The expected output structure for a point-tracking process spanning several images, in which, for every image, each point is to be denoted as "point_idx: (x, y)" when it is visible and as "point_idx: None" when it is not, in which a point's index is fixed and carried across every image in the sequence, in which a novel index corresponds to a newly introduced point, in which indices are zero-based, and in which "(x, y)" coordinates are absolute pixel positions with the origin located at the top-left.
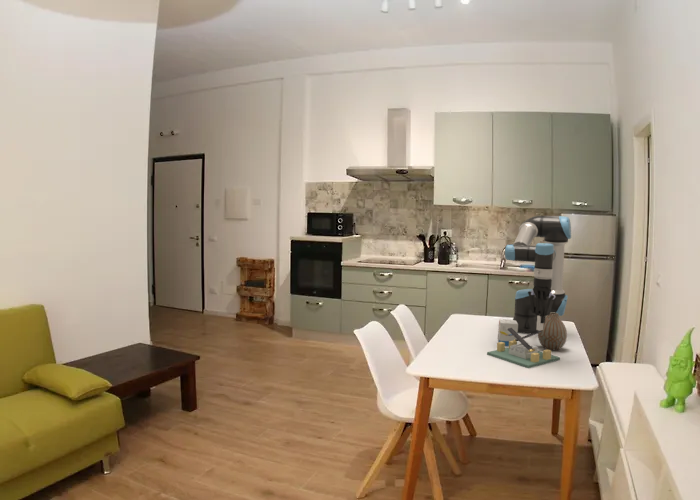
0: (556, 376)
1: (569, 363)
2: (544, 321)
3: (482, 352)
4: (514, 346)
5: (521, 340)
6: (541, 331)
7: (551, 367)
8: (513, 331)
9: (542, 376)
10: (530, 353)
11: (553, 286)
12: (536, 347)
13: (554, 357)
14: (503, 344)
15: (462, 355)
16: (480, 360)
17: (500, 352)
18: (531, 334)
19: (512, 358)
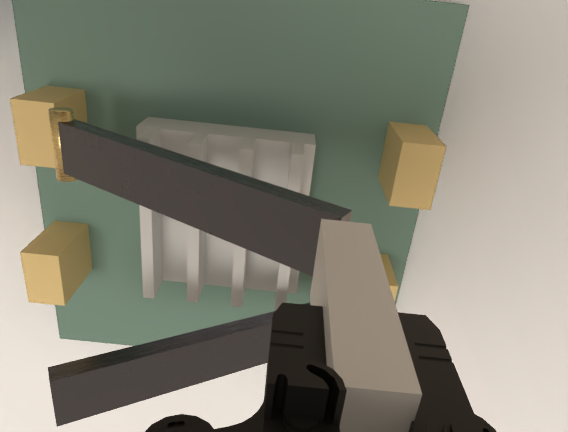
0: (552, 360)
1: (557, 35)
2: (438, 351)
3: (16, 310)
4: (156, 257)
5: (243, 362)
6: (347, 214)
7: (475, 242)
8: (114, 386)
9: (490, 407)
10: None
11: None
12: (302, 165)
13: (433, 58)
14: (65, 267)
15: (20, 427)
16: (133, 426)
17: (106, 282)
18: (242, 241)
19: None
